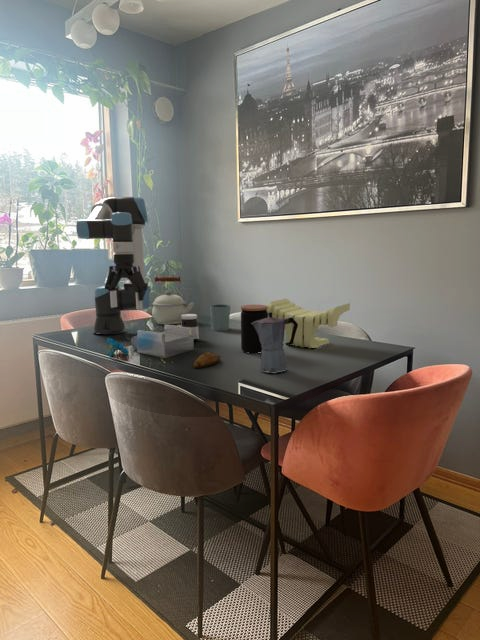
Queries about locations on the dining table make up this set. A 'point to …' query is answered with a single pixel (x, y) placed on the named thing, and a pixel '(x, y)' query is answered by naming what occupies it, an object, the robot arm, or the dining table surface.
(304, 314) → the beige slatted piece
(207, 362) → the croissant
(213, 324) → the teal tumbler cup
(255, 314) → the coffee jar
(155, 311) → the kettle
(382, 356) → the dining table surface
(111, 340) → the blue irregular piece
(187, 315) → the spread jar
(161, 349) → the storage box
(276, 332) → the moka pot
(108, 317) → the robot arm
